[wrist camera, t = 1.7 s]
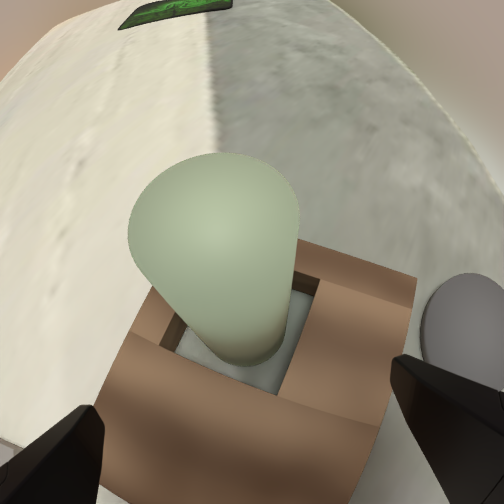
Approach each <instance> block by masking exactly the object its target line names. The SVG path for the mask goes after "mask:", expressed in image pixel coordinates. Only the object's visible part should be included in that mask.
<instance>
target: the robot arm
mask: <svg viewBox="0 0 504 504" xmlns="http://www.w3.org/2000/svg"><path fill="white" fill-rule="evenodd" d="M390 384H391V387H392V389H393V392H394V394H395V396H396V399H397V401H398V403H399V406H400V408H401V411H402V413H403V415H404V418H405V420H406V422H407V425H408V427H409V428H410V430H411V432H412V434H413V436H414V437H415V439H416V441H417V443H418V445H419V446H420V448H421V450H422V452H423V454H424V455H425V457H426V459H427V461H428V463H429V465H430V467H431V468H432V470H433V472H434V474H435V476H436V478H437V480H438V481H439V483H440V485H441V487H442V489H443V491H444V493H445V495H446V497H447V499H448V501H449V503H450V504H504V392H502V391H499V392H498V390H496V389H494V388H491V387H488V386H486V385H483V384H480V383H478V382H475V381H473V380H470V379H467V378H465V377H462V376H460V375H457V374H455V373H452V372H450V371H447V370H444V369H442V368H439V367H437V366H434V365H432V364H429V363H427V362H424V361H422V360H420V359H417V358H415V357H412V356H410V355H407V354H402V355H399V356H396V357H394V358H393V359H392V362H391V372H390ZM104 437H105V425H104V422H103V421H102V419H101V417H100V416H99V414H98V412H97V411H96V409H95V407H94V406H92V405H80V406H79V407H77V408H76V409H75V410H73V411H72V412H71V413H70V414H68V415H67V416H66V417H64V418H63V419H62V420H61V421H59V422H58V423H57V424H55V425H54V426H53V427H52V428H50V429H49V430H48V431H46V432H45V433H44V434H42V435H41V436H40V437H39V438H37V439H36V440H35V441H33V442H32V443H31V444H29V445H28V446H27V447H26V448H24V449H23V450H22V451H20V452H19V453H18V454H16V455H15V456H14V457H13V458H11V459H10V460H9V462H6V463H5V464H3V465H2V466H1V467H0V504H96V499H97V493H98V487H99V482H100V476H101V470H102V460H103V448H104Z"/></svg>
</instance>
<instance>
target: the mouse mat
mask: <svg viewBox="0 0 504 504" xmlns="http://www.w3.org/2000/svg"><path fill="white" fill-rule="evenodd" d="M232 4H233V0H163V1H156V2H152V3H148V4H145V5H143V6H140V7H139V8H137V9H136V10H135V11H134V12H133V13H132V14H131V15H130V16H129V17H128V18H127V19H126V20H125V21H124V22H123V24H122V25H121V26H120V27H119V28H118V30H123V29H127V28H131V27H135V26H138V25H142V24H146V23H151V22H155V21H160V20H164V19H169V18H174V17H180V16H186V15H191V14H197V13H202V12H207V11H214V10H223V9H229V8H231V7H232Z"/></svg>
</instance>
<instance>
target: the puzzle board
mask: <svg viewBox="0 0 504 504" xmlns="http://www.w3.org/2000/svg"><path fill="white" fill-rule="evenodd" d="M416 284H417V278H415V277H412V276H409V275H406V274H404V273H401V272H398V271H395V270H392V269H389V268H386V267H383V266H380V265H377V264H374V263H371V262H368V261H365V260H362V259H359V258H356V257H353V256H350V255H347V254H344V253H341V252H338V251H335V250H332V249H328V248H325V247H322V246H319V245H316V244H313V243H310V242H307V241H304V240H300V239H297V247H296V256H295V264H294V272H293V279H292V287H291V289H294V290H297V291H300V292H303V293H306V294H309V295H312V296H315V297H314V300H313V303H312V306H311V308H310V311H309V314H308V317H307V320H306V322H305V325H304V328H303V331H302V333H301V336H300V339H299V341H298V344H297V347H296V349H295V352H294V355H293V357H292V360H291V362H290V365H289V367H288V370H287V373H286V375H285V378H284V380H283V383H282V385H281V387H280V390H279V392H278V395H277V396H276V395H273V394H271V393H268V392H265V391H263V390H260V389H257V388H255V387H252V386H250V385H247V384H244V383H242V382H239V381H237V380H234V379H232V378H230V377H227V376H225V375H222V374H220V373H218V372H215V371H213V370H211V369H208V368H206V367H204V366H202V365H199V364H197V363H195V362H193V361H190V360H188V359H186V358H184V357H182V356H180V355H177V354H175V353H174V352H175V350H176V348H177V345H178V343H179V341H180V339H181V337H182V335H183V333H184V331H185V329H186V327H187V324H186V323H185V322H184V321H183V319H182V318H181V317H180V316H179V315H178V314H177V313H176V312H175V311H174V309H173V308H172V307H171V306H170V305H169V304H168V303H167V302H166V300H165V299H164V298H163V297H162V296H161V295H160V294H159V292H158V291H157V290H156V289H155V288H154V287H153V286H152V287H151V289H150V291H149V293H148V295H147V297H146V299H145V301H144V303H143V304H142V306H141V308H140V310H139V312H138V314H137V316H136V318H135V320H134V322H133V324H132V326H131V328H130V330H129V332H128V334H127V336H126V338H125V340H124V342H123V344H122V346H121V348H120V350H119V352H118V354H117V356H116V358H115V360H114V362H113V364H112V366H111V369H110V371H109V373H108V375H107V377H106V379H105V381H104V384H103V386H102V388H101V390H100V392H99V395H98V397H97V399H96V401H95V404H94V407H95V409H96V411H97V412H98V414H99V416H100V417H101V419H102V421H103V422H104V425H105V437H104V448H103V460H102V470H101V476H100V482H99V484H100V485H102V486H103V487H105V488H106V489H108V490H109V491H111V492H112V493H114V494H115V495H117V496H118V497H120V498H122V499H123V500H125V501H127V502H128V503H130V504H348V502H349V500H350V498H351V496H352V494H353V492H354V490H355V488H356V485H357V483H358V481H359V479H360V477H361V474H362V472H363V470H364V467H365V465H366V462H367V460H368V458H369V455H370V453H371V450H372V447H373V445H374V442H375V440H376V437H377V434H378V431H379V429H380V426H381V423H382V420H383V417H384V414H385V411H386V408H387V405H388V402H389V399H390V395H391V392H392V387H391V384H390V372H391V362H392V359H393V358H394V357H396V356H399V355H402V352H403V348H404V344H405V340H406V336H407V331H408V326H409V322H410V317H411V312H412V307H413V301H414V296H415V290H416Z"/></svg>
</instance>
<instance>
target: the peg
mask: <svg viewBox="0 0 504 504" xmlns="http://www.w3.org/2000/svg"><path fill="white" fill-rule="evenodd" d="M299 221H300V216H299V206H298V201H297V198H296V196H295V193H294V191H293V189H292V188H291V186H290V184H289V183H288V182H287V180H286V179H285V178H284V177H283V176H282V175H281V174H280V173H279V172H278V171H277V170H275V169H274V168H273V167H271V166H270V165H268V164H266V163H265V162H263V161H260V160H258V159H256V158H253V157H249V156H246V155H241V154H235V153H212V154H205V155H200V156H196V157H193V158H189V159H186V160H184V161H182V162H179V163H177V164H175V165H174V166H172V167H170V168H168V169H167V170H165V171H164V172H162V173H161V174H160V175H158V176H157V177H156V178H155V179H154V180H153V181H152V182H151V183H150V184H149V185H148V186H147V187H146V188H145V189H144V191H143V192H142V193H141V195H140V196H139V198H138V200H137V201H136V203H135V205H134V208H133V210H132V213H131V216H130V219H129V225H128V243H129V249H130V252H131V255H132V257H133V259H134V261H135V264H136V265H137V267H138V268H139V269H140V271H141V272H142V273H143V275H144V276H145V277H146V278H147V279H148V281H149V282H150V283H151V284H152V285H153V287H154V288H155V289H156V290H157V291H158V292H159V294H160V295H161V296H162V297H163V298H164V299H165V300H166V302H167V303H168V304H169V305H170V306H171V307H172V308H173V309H174V311H175V312H176V313H177V314H178V315H179V316H180V317H181V318H182V319H183V321H184V322H185V323H186V324H187V325H188V326H189V327H190V328H191V329H192V330H193V331H194V333H195V334H196V335H197V336H198V337H199V338H200V339H201V340H202V341H203V342H204V343H205V344H206V345H207V346H208V347H209V348H210V349H211V351H212V352H213V353H214V354H215V355H216V356H218V357H219V358H220V359H221V360H223V361H225V362H227V363H229V364H232V365H235V366H244V367H245V366H253V365H257V364H260V363H262V362H264V361H266V360H268V359H269V358H271V357H272V356H273V355H274V354H275V353H276V352H277V350H278V349H279V347H280V346H281V344H282V342H283V339H284V336H285V330H286V323H287V316H288V309H289V302H290V295H291V287H292V279H293V272H294V264H295V256H296V247H297V239H298V230H299Z"/></svg>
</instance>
